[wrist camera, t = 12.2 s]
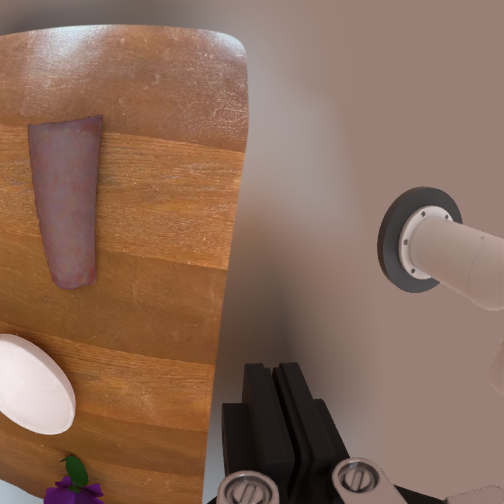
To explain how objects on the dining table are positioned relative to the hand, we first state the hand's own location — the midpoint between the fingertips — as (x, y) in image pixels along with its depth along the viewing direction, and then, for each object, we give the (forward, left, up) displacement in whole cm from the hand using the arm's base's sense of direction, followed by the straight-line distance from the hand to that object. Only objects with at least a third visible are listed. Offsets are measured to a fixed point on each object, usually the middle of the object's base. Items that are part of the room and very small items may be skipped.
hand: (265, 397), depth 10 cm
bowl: (+32, +26, -32) cm, 52 cm away
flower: (+32, +56, -32) cm, 72 cm away
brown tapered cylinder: (+20, -2, -32) cm, 38 cm away
